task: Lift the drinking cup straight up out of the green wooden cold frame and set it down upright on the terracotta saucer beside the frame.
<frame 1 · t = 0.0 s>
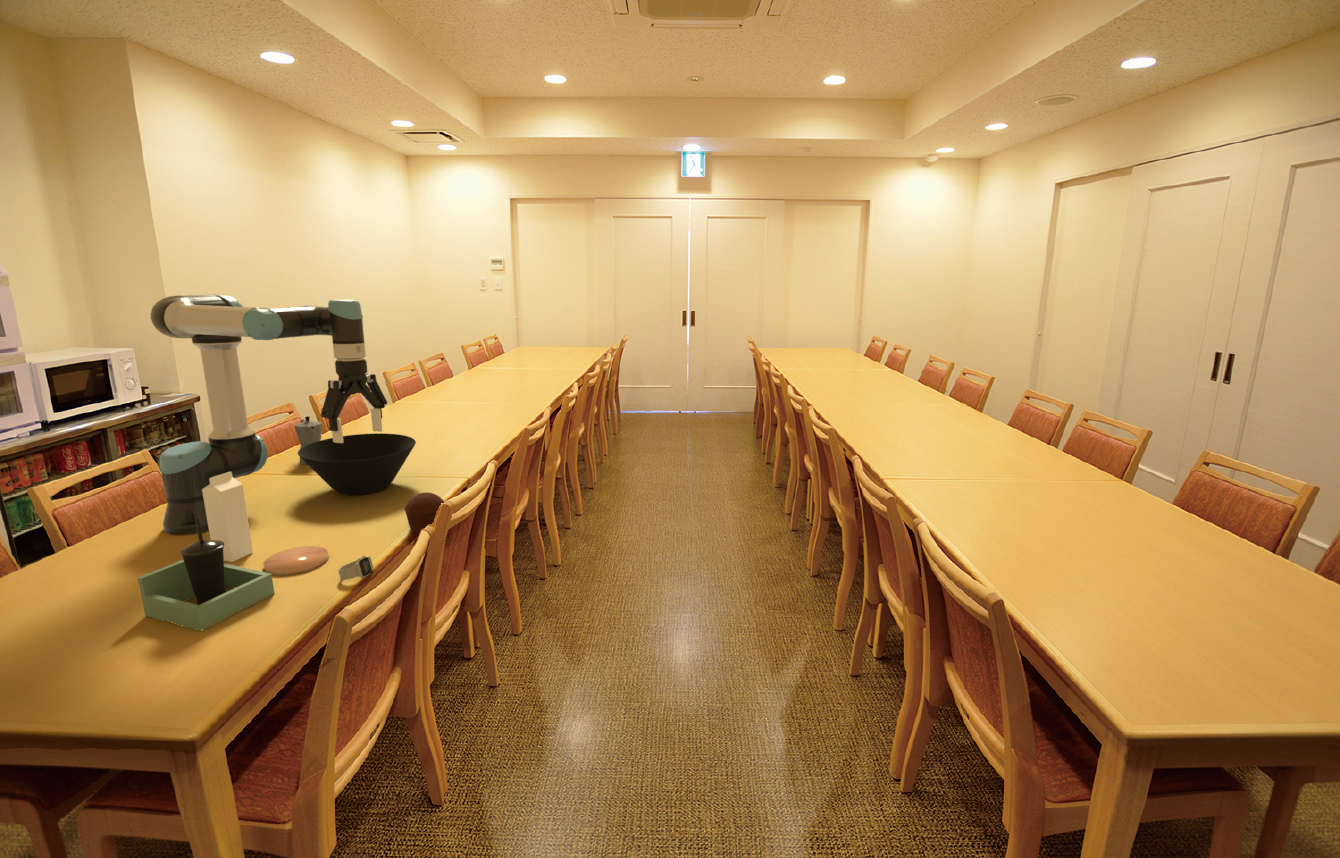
hand: (358, 436, 168), 28 cm above the table, tool pointing down, fingers open, 13 cm apart
milk: (233, 556, 158), on the table
coffeepot: (312, 461, 240), on the table
cold frame: (212, 604, 135), on the table
drinking cup: (212, 605, 135), resting in cold frame
wristwatch: (356, 576, 150), on the table
muffin: (427, 528, 179), on the table
saucer: (297, 562, 156), on the table
bowl: (363, 488, 210), on the table
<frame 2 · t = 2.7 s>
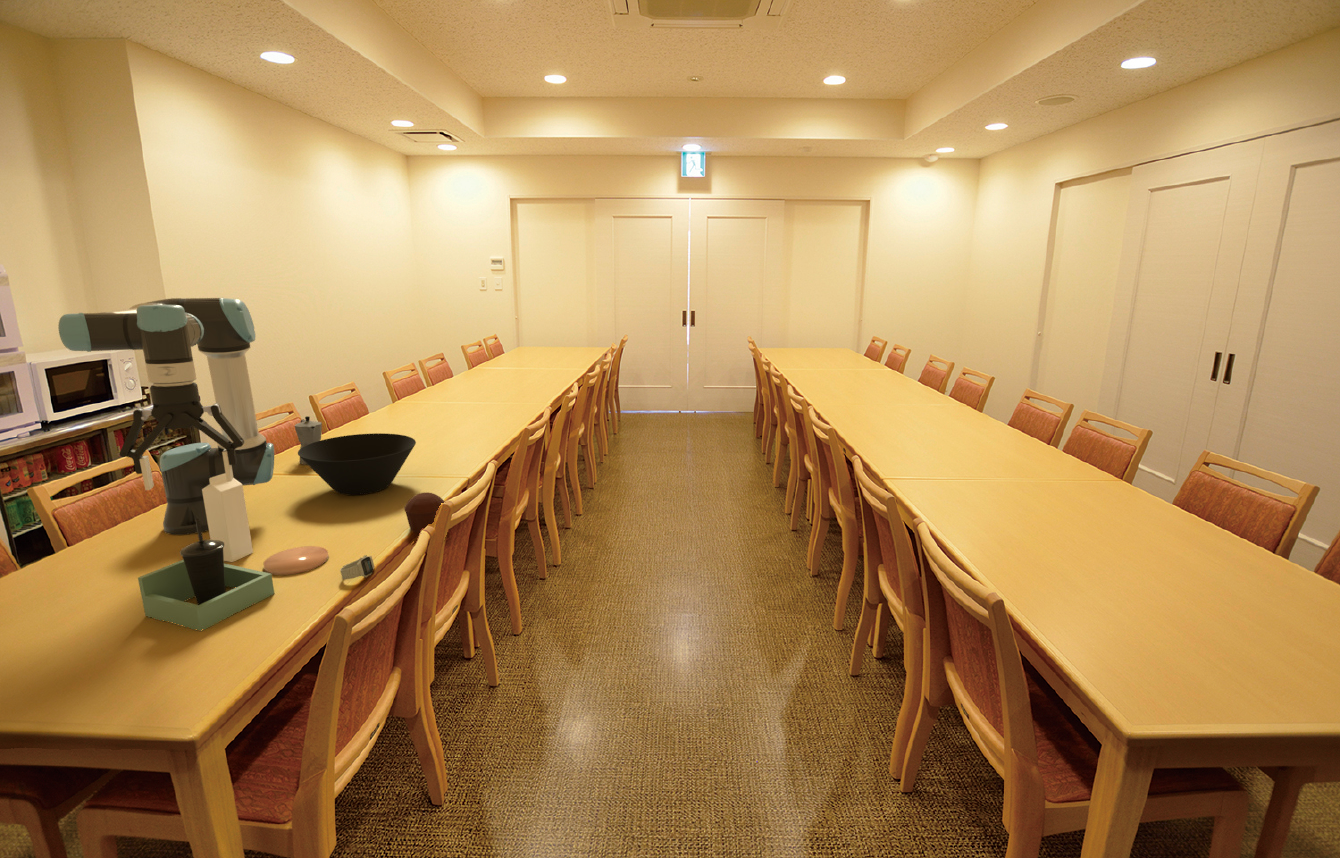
hand: (190, 484, 128), 28 cm above the table, tool pointing down, fingers open, 13 cm apart
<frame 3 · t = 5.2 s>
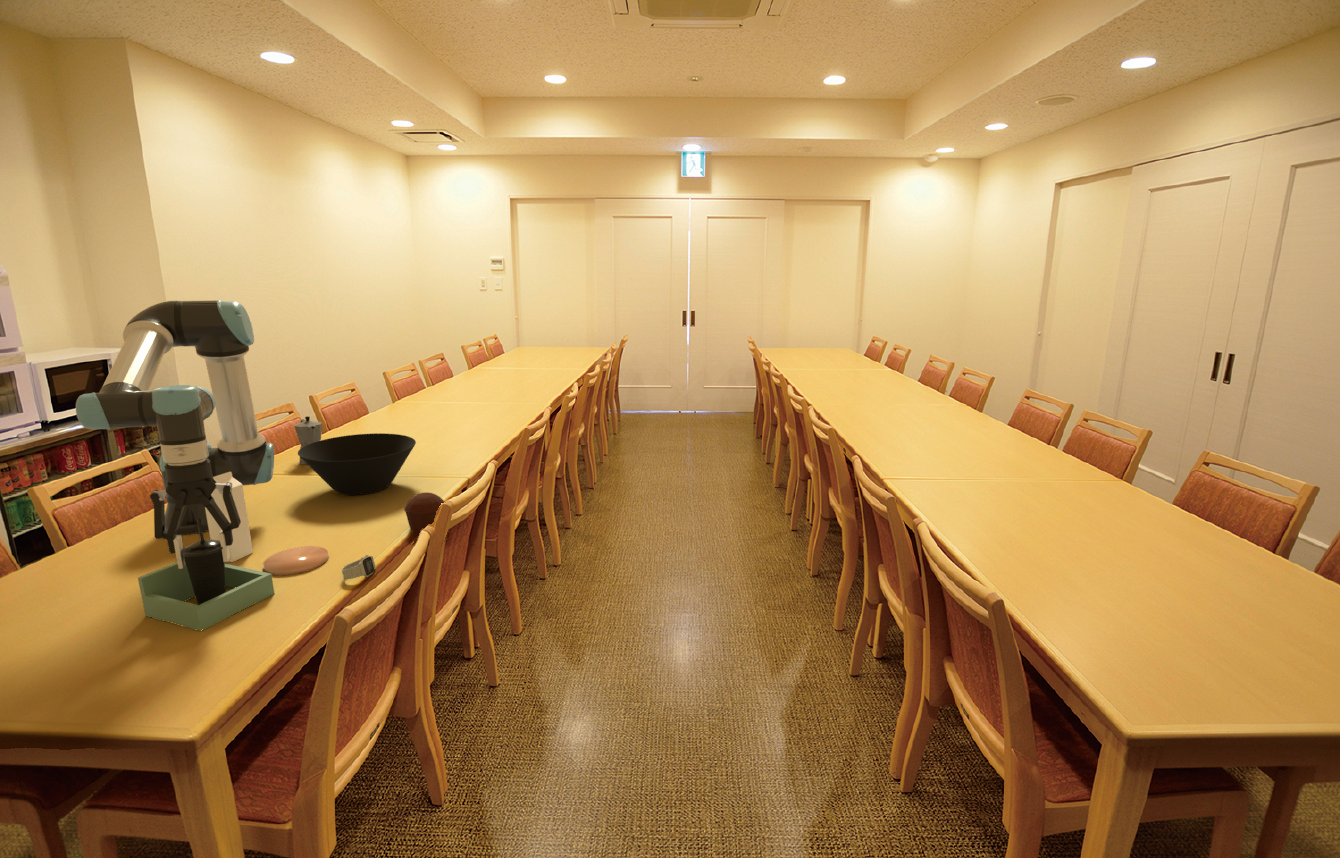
hand: (204, 562, 133), 10 cm above the table, tool pointing down, fingers closed on drinking cup, 7 cm apart
drinking cup: (212, 605, 135), resting in cold frame, touching gripper
everything else where it was.
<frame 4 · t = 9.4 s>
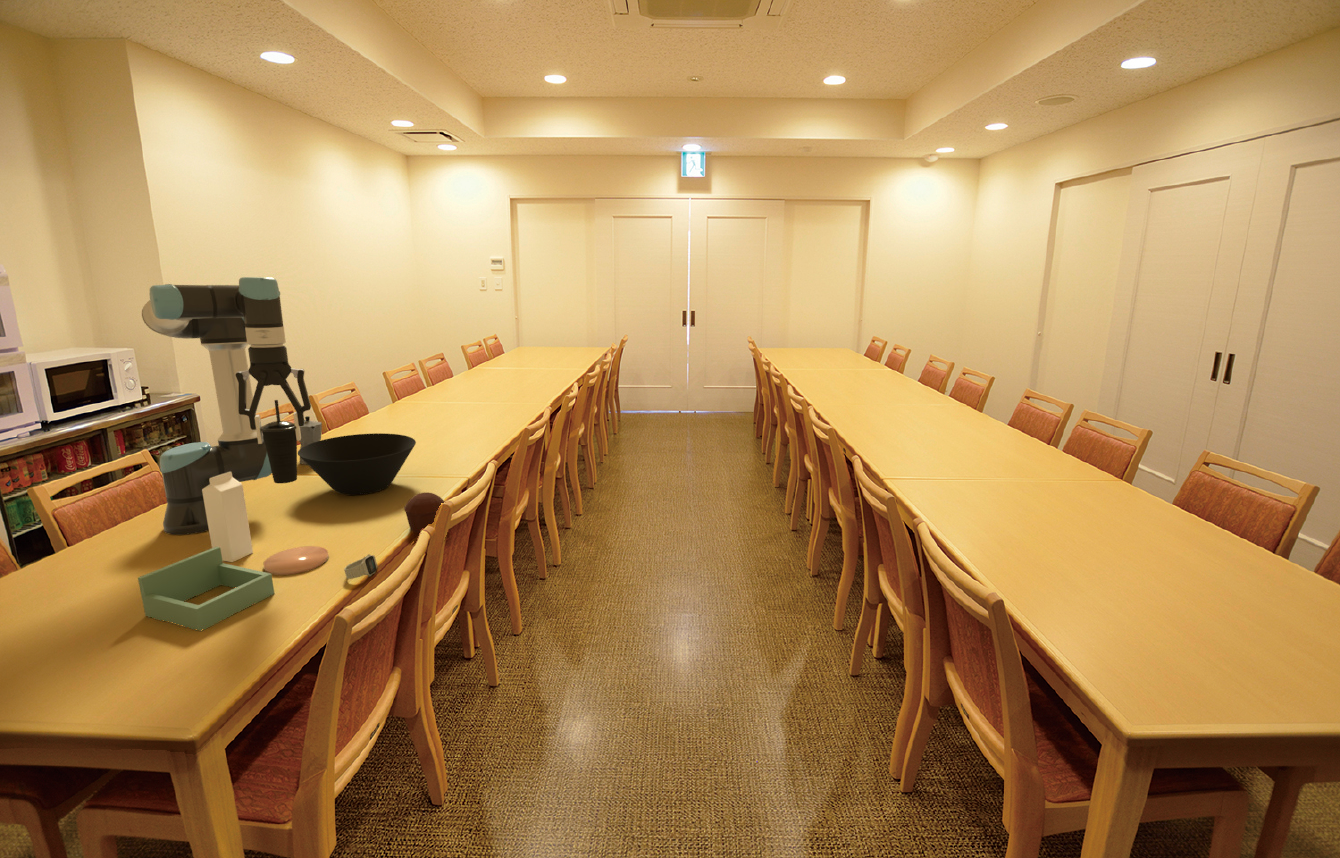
hand: (280, 440, 148), 32 cm above the table, tool pointing down, fingers closed on drinking cup, 7 cm apart
drinking cup: (285, 481, 150), point 22 cm above the table, touching gripper
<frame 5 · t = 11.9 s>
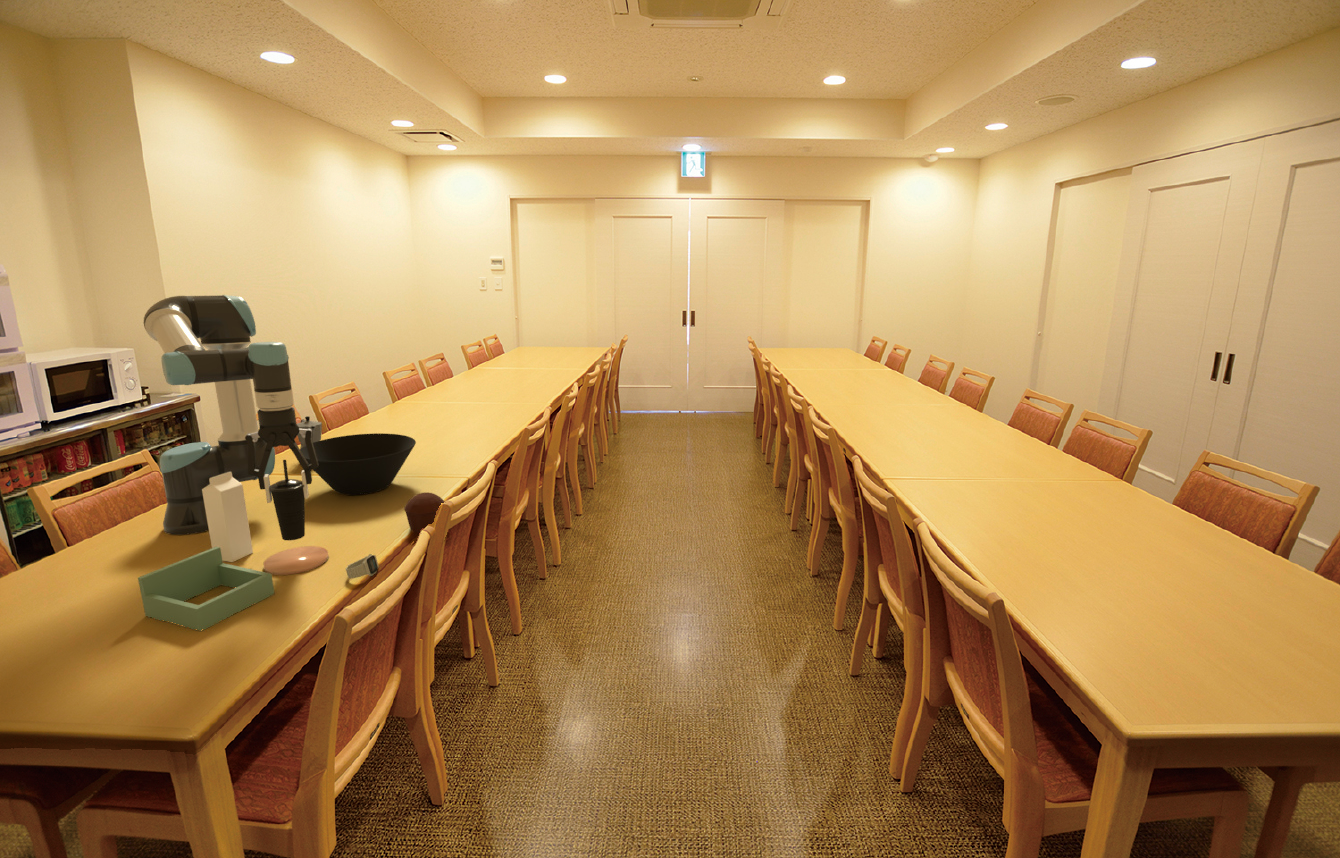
hand: (288, 498, 152), 17 cm above the table, tool pointing down, fingers closed on drinking cup, 7 cm apart
drinking cup: (293, 537, 154), point 7 cm above the table, touching gripper
when the fingers open (13 cm above the table, at t = 13.8 s): drinking cup drops 1 cm, resting on saucer.
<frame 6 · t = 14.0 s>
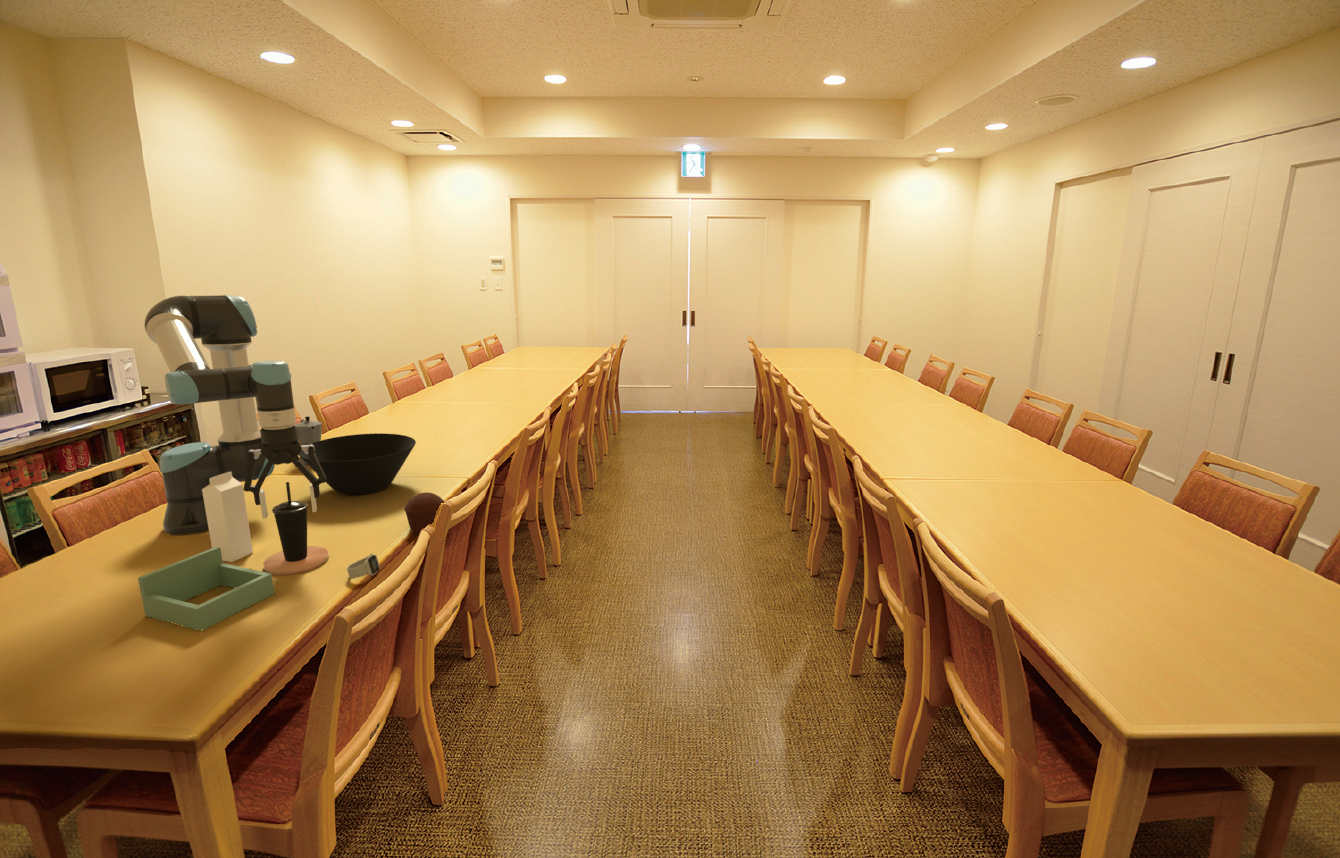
hand: (290, 513, 152), 13 cm above the table, tool pointing down, fingers open, 10 cm apart
drinking cup: (296, 558, 155), point 1 cm above the table, touching saucer
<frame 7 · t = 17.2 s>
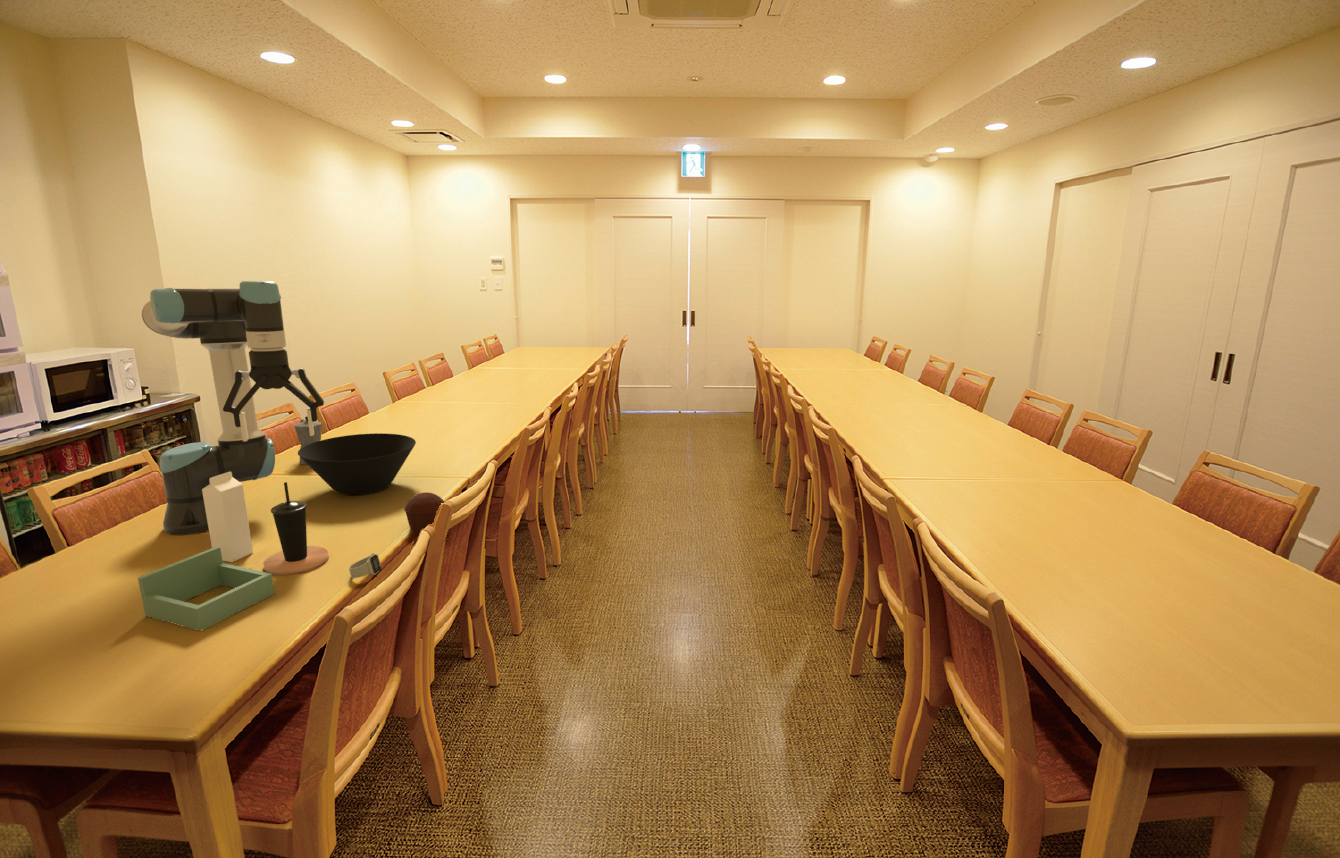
hand: (279, 437, 148), 33 cm above the table, tool pointing down, fingers open, 13 cm apart
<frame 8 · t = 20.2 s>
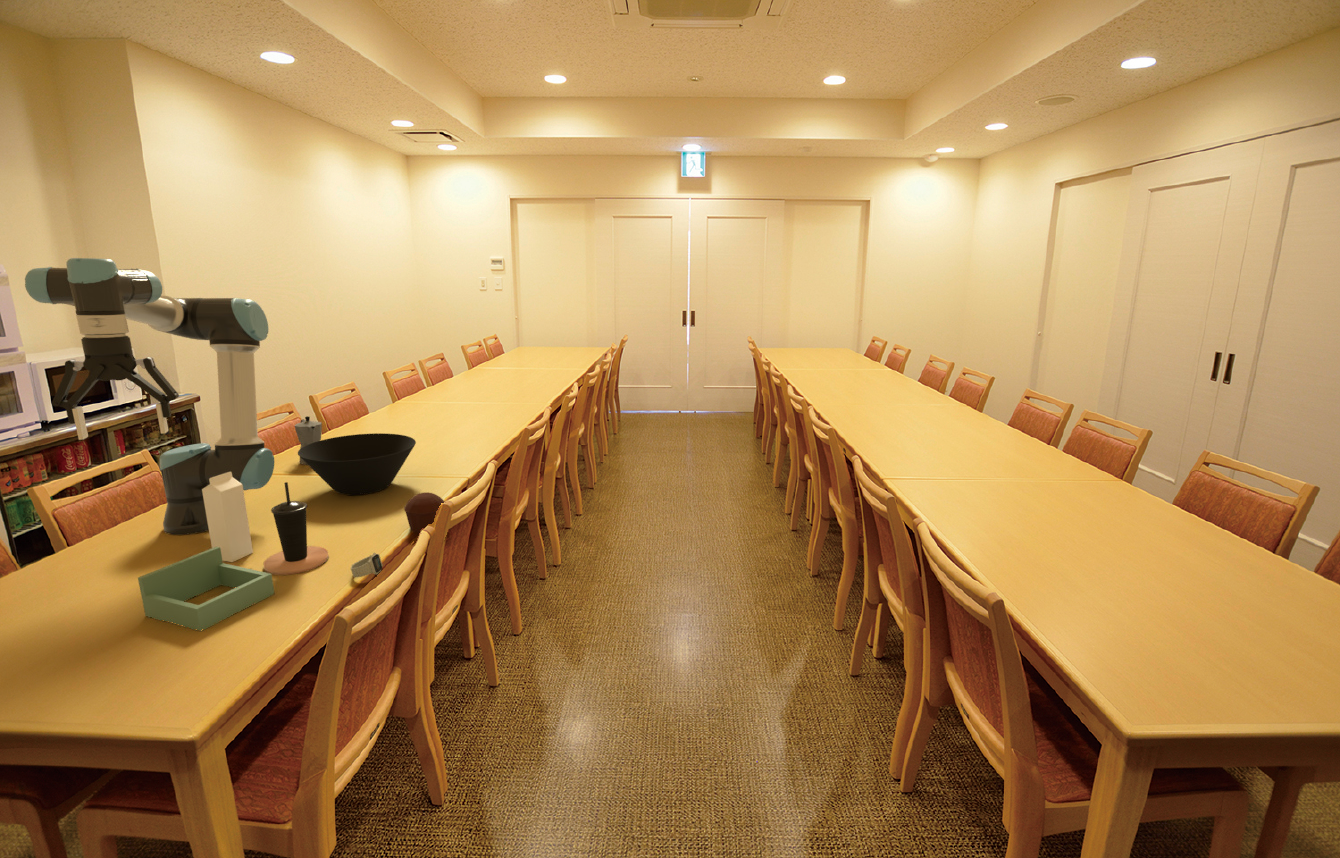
hand: (125, 435, 132), 37 cm above the table, tool pointing down, fingers open, 13 cm apart
at the end: drinking cup inside the target area on the saucer (0.0 cm from its centre), point 1.0 cm above the saucer's base; drinking cup tilted 0°; the gripper is holding nothing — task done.
